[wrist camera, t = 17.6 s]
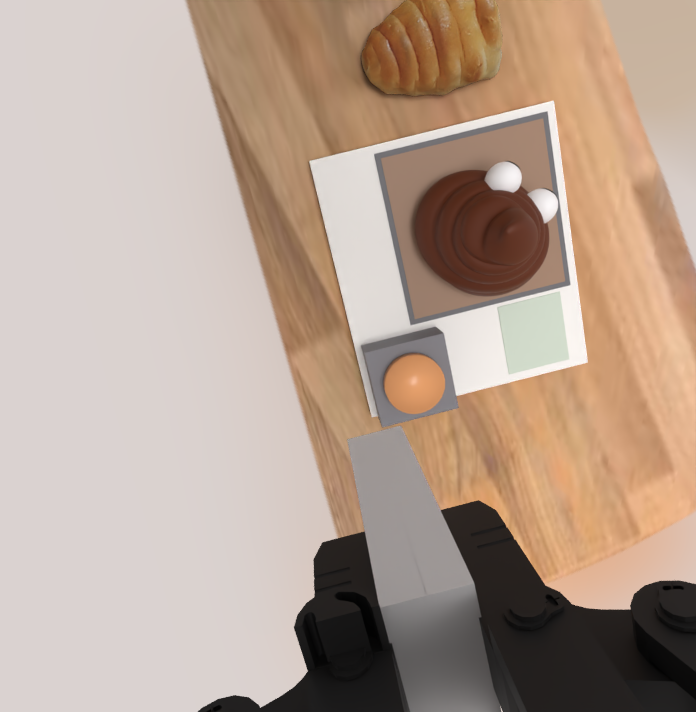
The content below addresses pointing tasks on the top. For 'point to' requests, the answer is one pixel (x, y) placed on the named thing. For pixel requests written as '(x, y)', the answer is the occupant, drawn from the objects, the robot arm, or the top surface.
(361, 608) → the robot arm
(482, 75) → the pastry
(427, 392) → the button
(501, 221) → the poop emoji
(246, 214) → the top surface
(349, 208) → the picture board
